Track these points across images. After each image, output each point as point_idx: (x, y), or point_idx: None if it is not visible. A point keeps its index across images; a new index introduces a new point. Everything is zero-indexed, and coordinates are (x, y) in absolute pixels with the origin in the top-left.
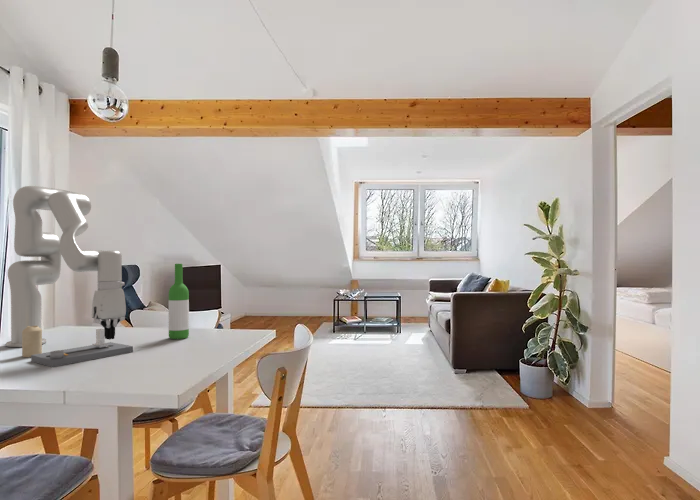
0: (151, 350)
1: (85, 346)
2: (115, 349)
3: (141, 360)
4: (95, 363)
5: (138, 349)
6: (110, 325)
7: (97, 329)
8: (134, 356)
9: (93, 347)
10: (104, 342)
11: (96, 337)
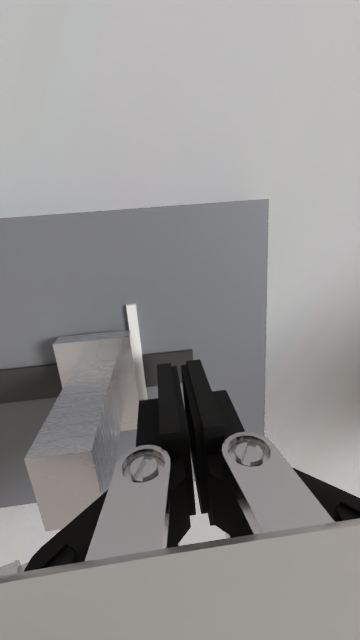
0: (327, 471)
1: (35, 230)
2: None
3: None
4: (5, 553)
5: (311, 402)
6: (213, 498)
7: (33, 485)
8: (197, 534)
9: (71, 328)
10: (121, 417)
11: (60, 401)
